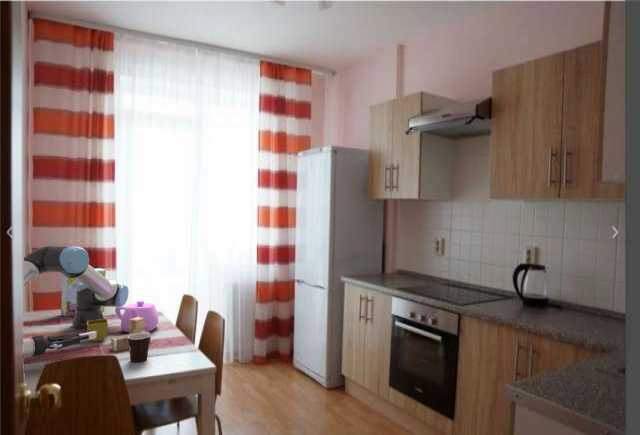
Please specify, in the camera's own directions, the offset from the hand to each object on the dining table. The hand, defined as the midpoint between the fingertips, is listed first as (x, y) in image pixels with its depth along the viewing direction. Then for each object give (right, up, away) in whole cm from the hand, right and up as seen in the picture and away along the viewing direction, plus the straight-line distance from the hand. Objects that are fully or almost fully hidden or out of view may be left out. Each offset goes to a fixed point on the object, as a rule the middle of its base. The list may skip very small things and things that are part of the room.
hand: (95, 334), depth 183 cm
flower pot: (-9, -8, +19) cm, 23 cm away
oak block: (+8, -8, +22) cm, 25 cm away
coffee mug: (+21, -9, -7) cm, 24 cm away
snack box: (-44, -6, +69) cm, 82 cm away
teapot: (+3, -8, +37) cm, 38 cm away
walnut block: (+5, -6, +6) cm, 10 cm away
